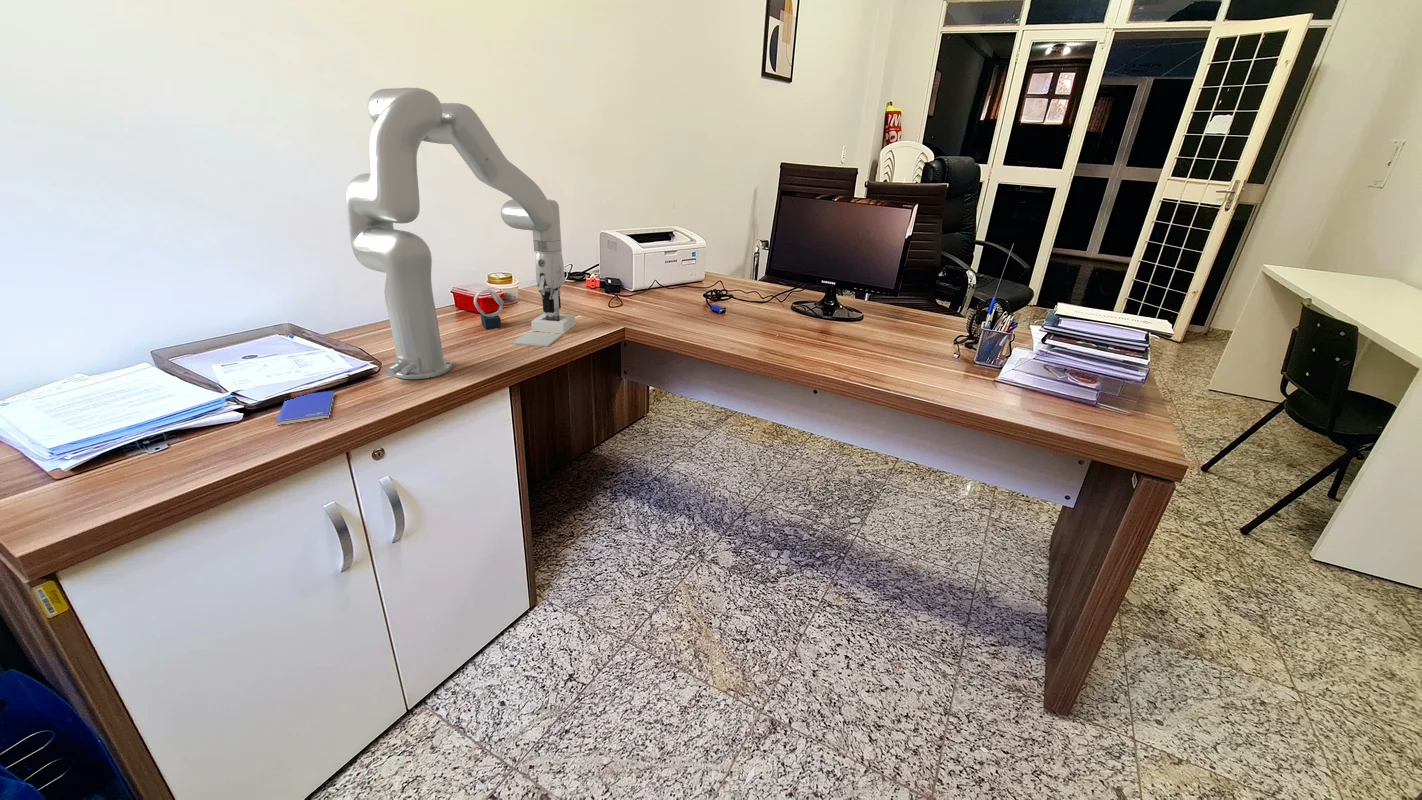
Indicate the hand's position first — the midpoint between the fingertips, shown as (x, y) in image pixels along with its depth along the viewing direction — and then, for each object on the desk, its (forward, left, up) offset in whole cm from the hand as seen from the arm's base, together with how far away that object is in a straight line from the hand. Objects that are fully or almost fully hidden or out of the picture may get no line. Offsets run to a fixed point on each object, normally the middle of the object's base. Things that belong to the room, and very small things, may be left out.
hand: (552, 309), depth 162 cm
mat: (-12, 0, -6) cm, 13 cm away
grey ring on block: (-3, +18, -6) cm, 19 cm away
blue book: (-64, +25, -6) cm, 69 cm away
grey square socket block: (0, 0, -6) cm, 6 cm away
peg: (0, 0, -4) cm, 4 cm away
